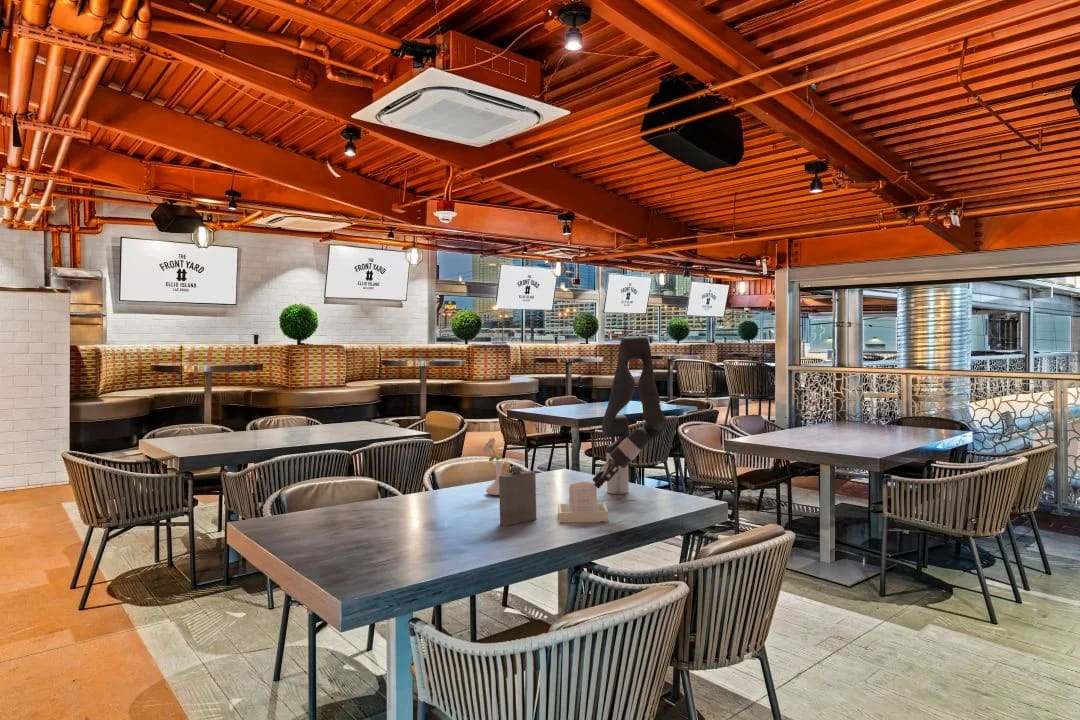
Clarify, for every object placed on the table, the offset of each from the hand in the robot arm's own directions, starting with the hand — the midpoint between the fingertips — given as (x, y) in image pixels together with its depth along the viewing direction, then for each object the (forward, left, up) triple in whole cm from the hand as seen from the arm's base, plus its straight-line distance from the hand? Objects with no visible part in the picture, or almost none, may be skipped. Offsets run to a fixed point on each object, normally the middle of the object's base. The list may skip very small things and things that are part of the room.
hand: (595, 484), depth 243 cm
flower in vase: (-41, -39, -12) cm, 58 cm away
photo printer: (0, -5, -11) cm, 12 cm away
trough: (0, -5, -12) cm, 13 cm away
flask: (+4, -29, -12) cm, 32 cm away
